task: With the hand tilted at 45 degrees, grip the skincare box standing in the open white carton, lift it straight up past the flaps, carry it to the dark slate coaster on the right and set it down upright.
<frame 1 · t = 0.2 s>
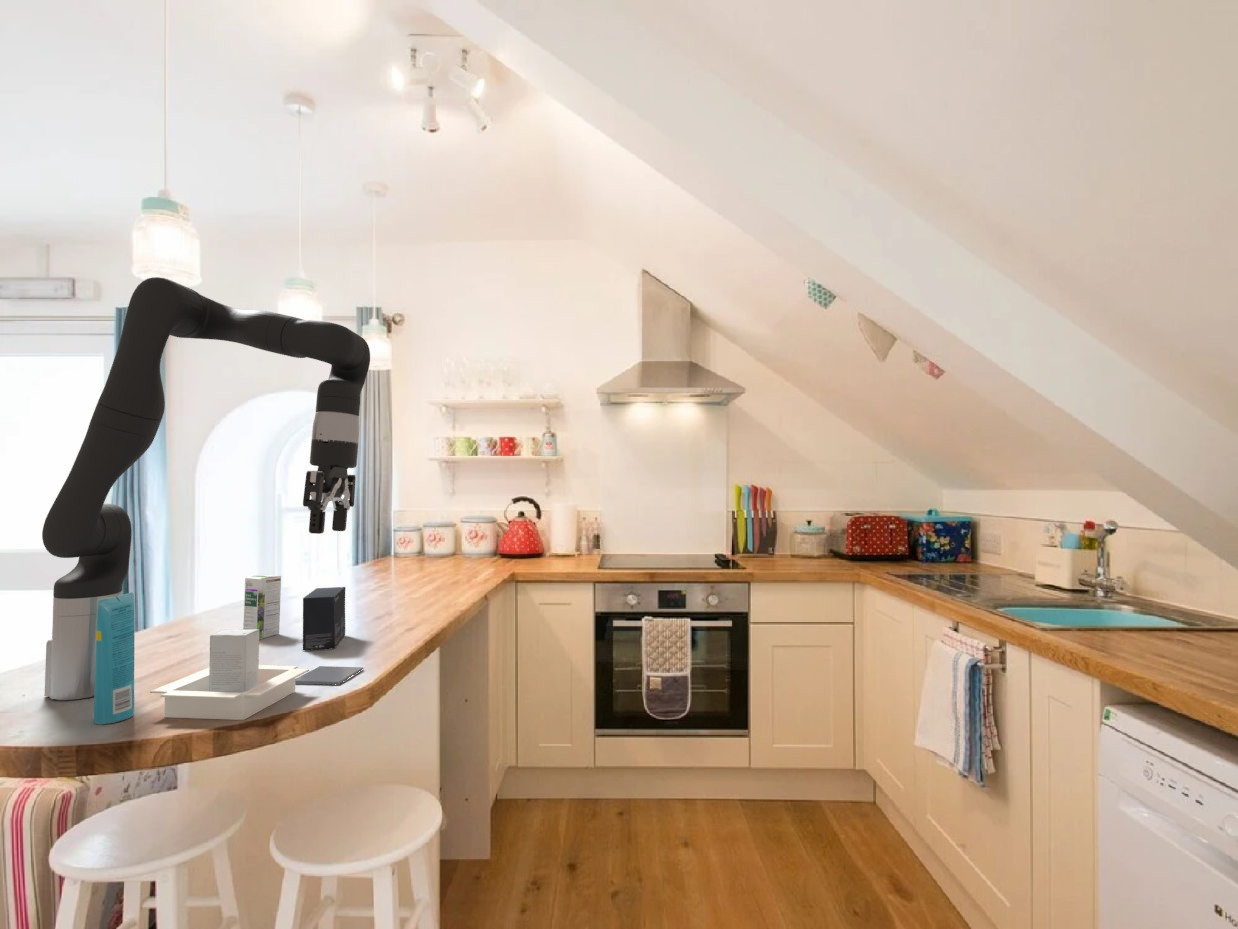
hand: (327, 532, 106), 29 cm above the countertop, tool pointing down, fingers open, 8 cm apart
tube: (112, 720, 95), on the countertop
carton: (233, 703, 102), on the countertop
small box: (324, 644, 141), on the countertop
coaster: (328, 676, 116), on the countertop
skincare box: (233, 705, 102), resting in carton
syrup box: (261, 636, 147), on the countertop
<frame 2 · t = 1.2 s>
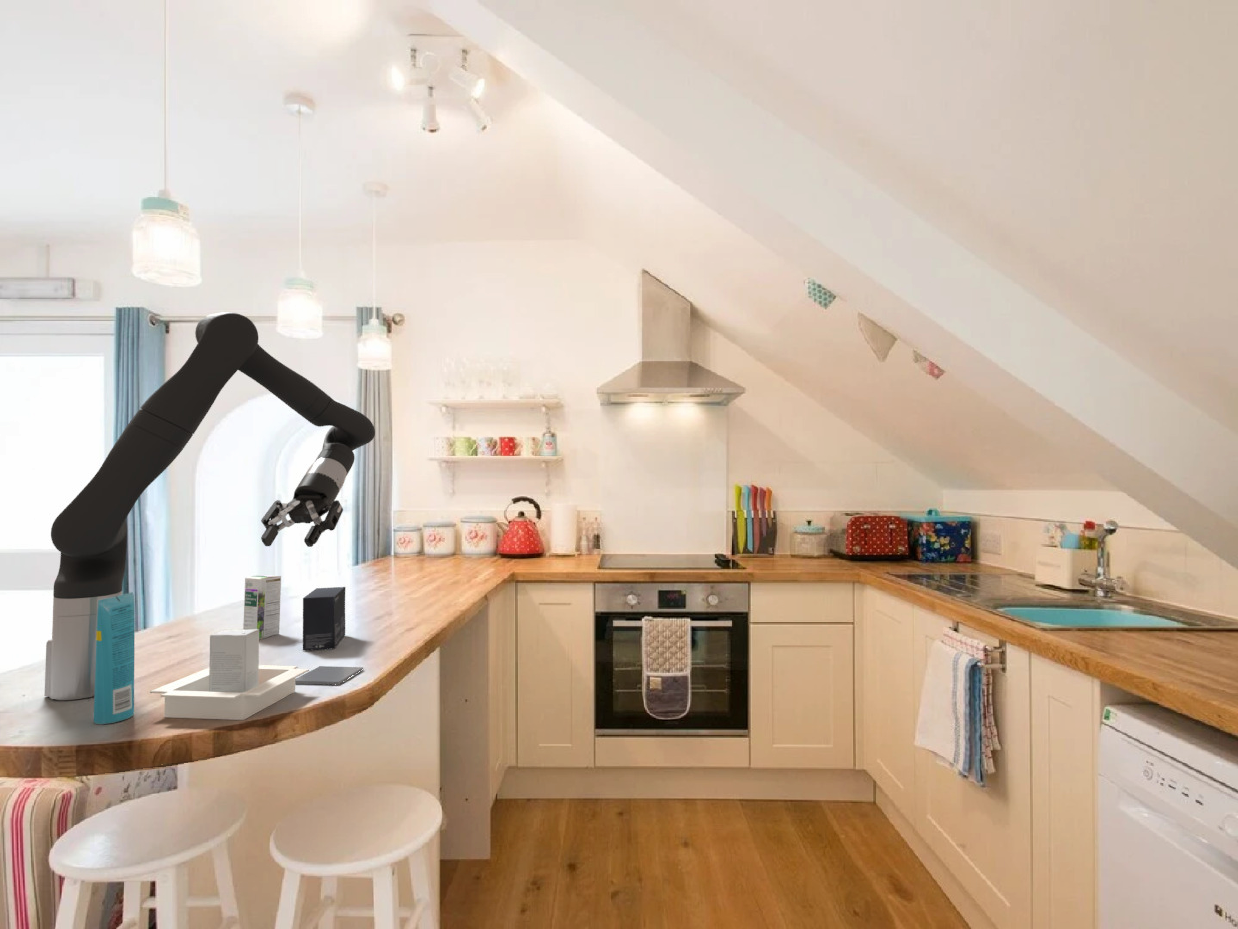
hand: (286, 543, 116), 25 cm above the countertop, tool tilted 45°, fingers open, 8 cm apart
nothing on the countertop moved.
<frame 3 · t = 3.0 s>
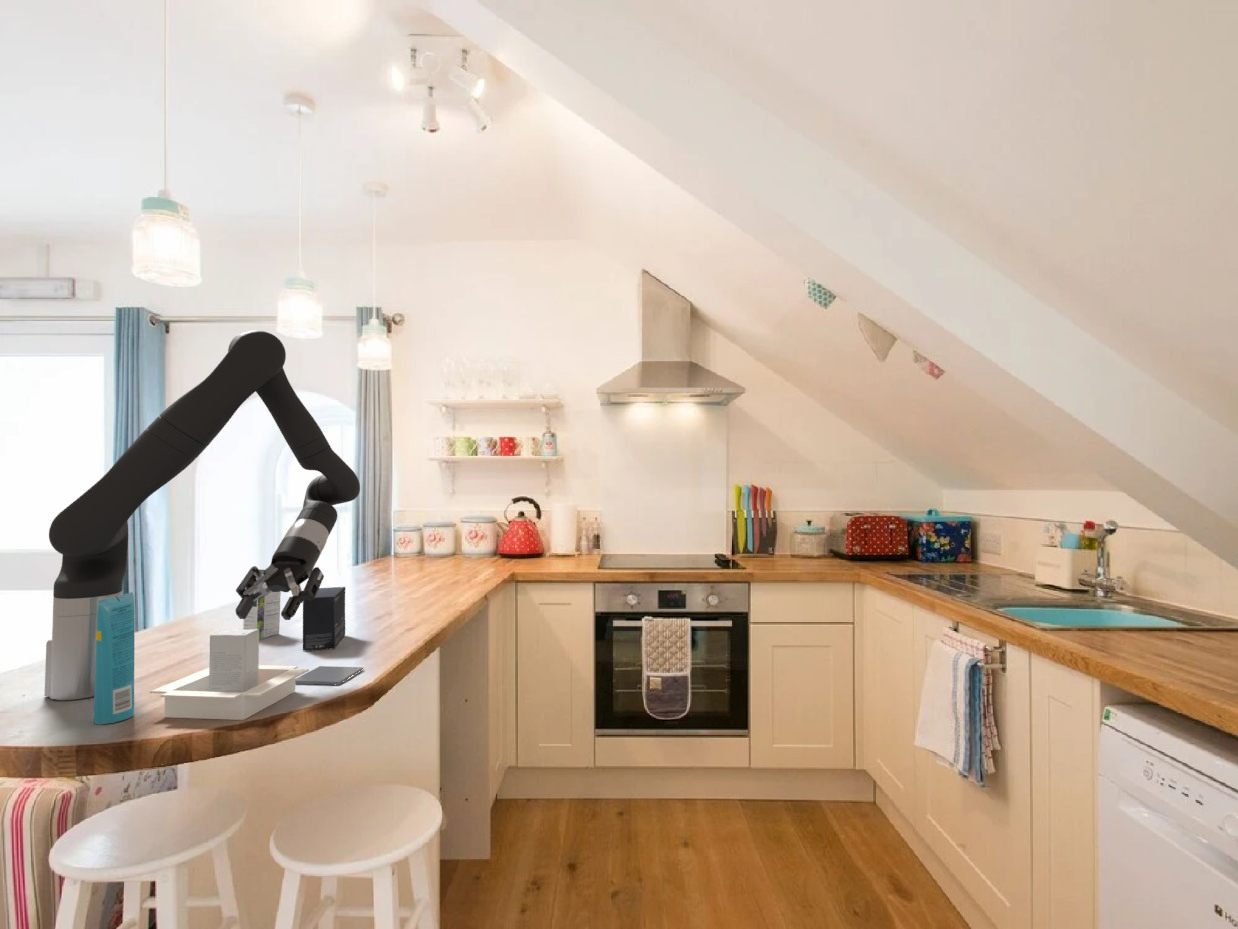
hand: (262, 617, 109), 13 cm above the countertop, tool tilted 45°, fingers open, 8 cm apart
nothing on the countertop moved.
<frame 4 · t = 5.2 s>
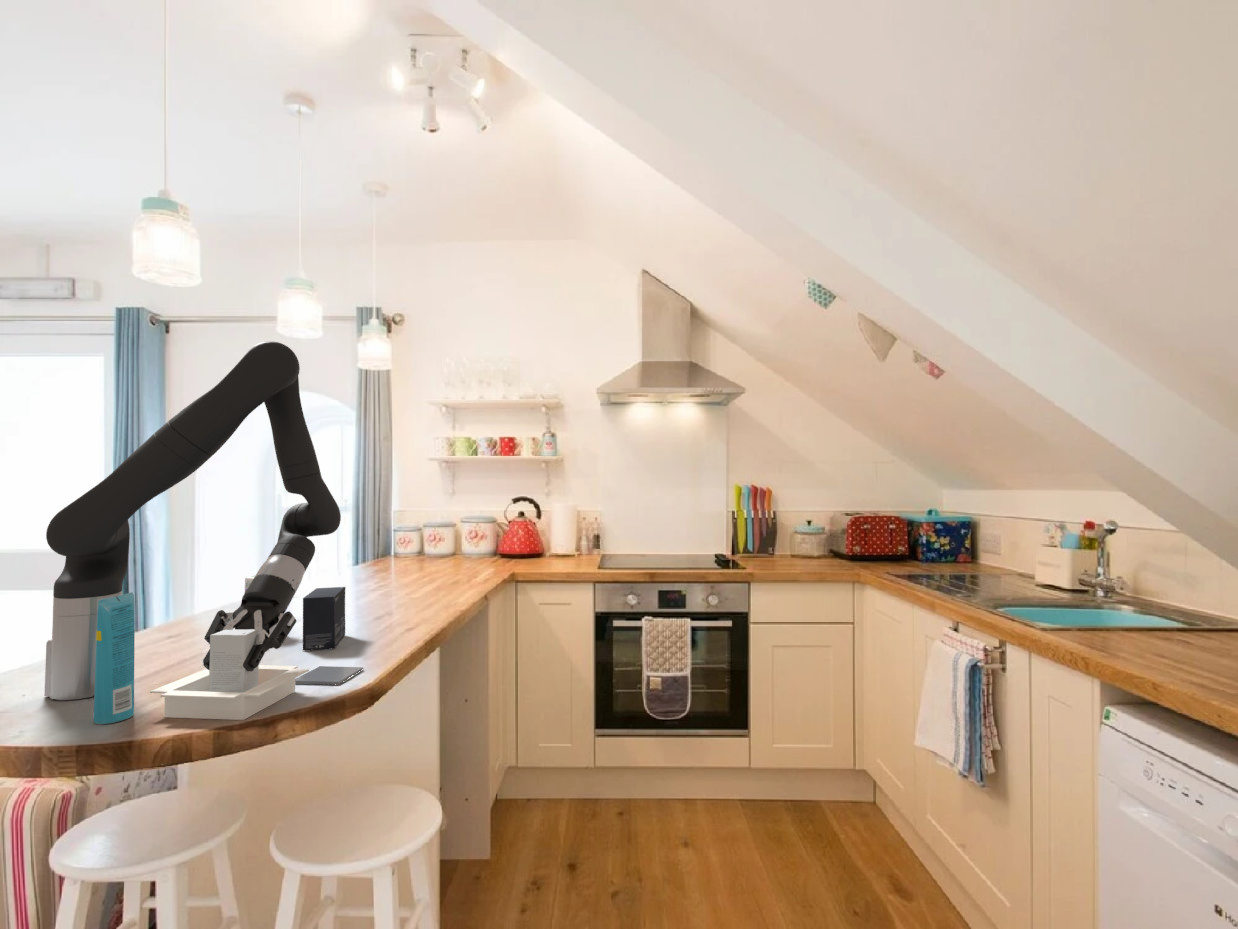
hand: (227, 668, 100), 6 cm above the countertop, tool tilted 45°, fingers closed on skincare box, 6 cm apart
skincare box: (233, 704, 102), resting in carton, touching gripper
everything else where it was.
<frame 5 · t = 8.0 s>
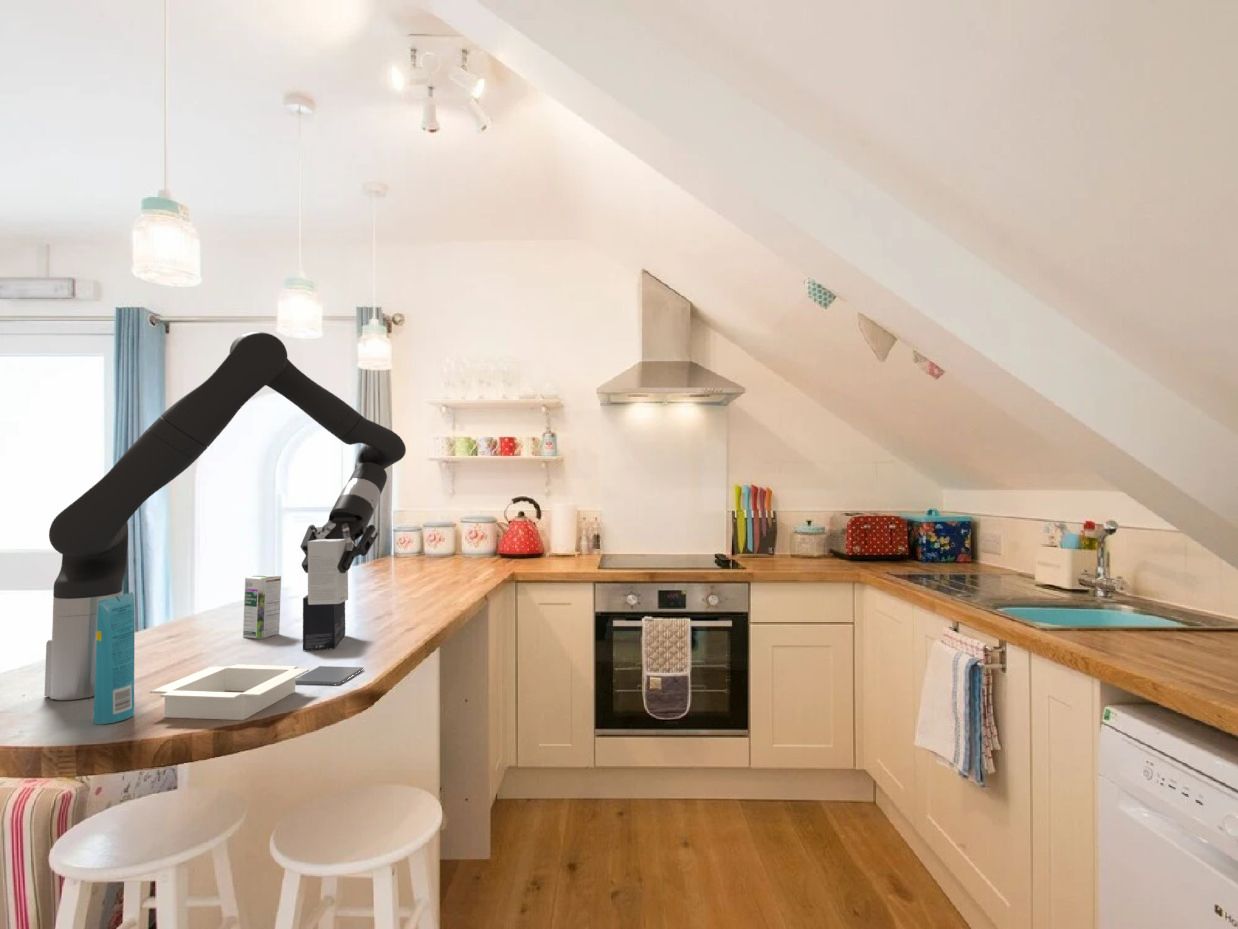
hand: (323, 570, 114), 21 cm above the countertop, tool tilted 45°, fingers closed on skincare box, 6 cm apart
skincare box: (328, 603, 116), point 14 cm above the countertop, touching gripper
everything else where it was.
when the fingers open (7 cm above the countertop, at t = 11.1 s): skincare box stays where it is, resting on coaster.
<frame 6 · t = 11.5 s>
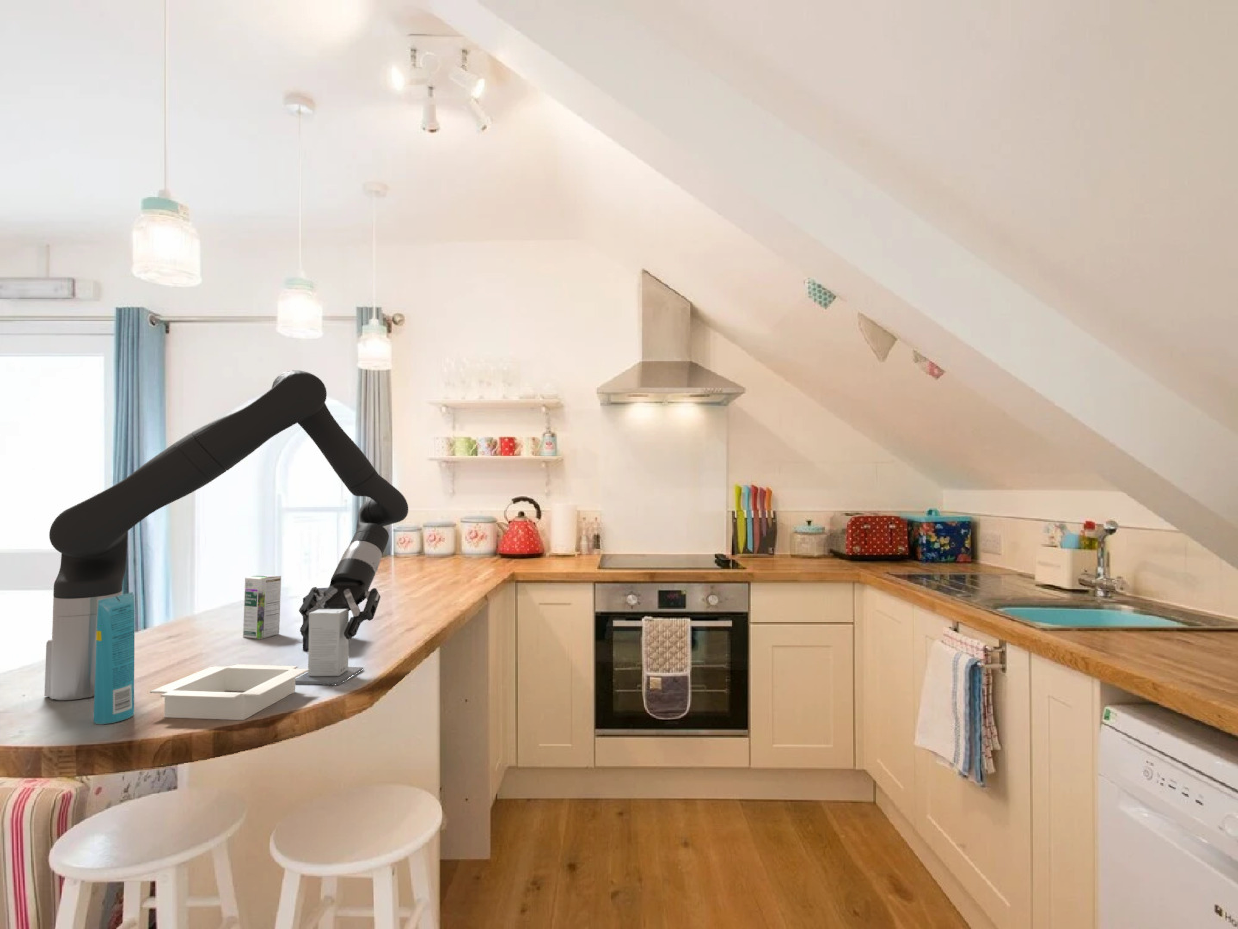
hand: (325, 636, 115), 8 cm above the countertop, tool tilted 45°, fingers open, 8 cm apart
skincare box: (328, 674, 116), resting on coaster
everything else where it was.
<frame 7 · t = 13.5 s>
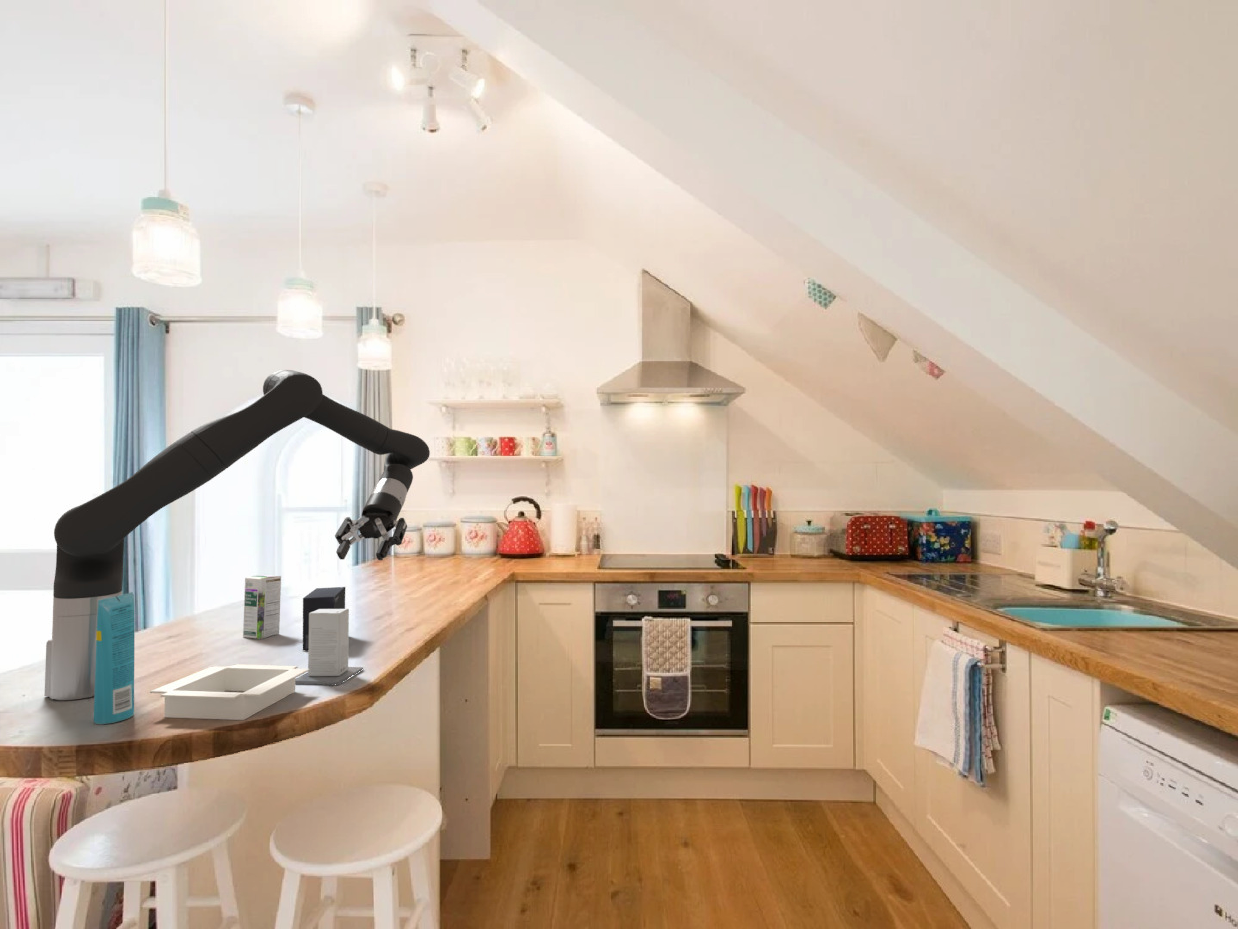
hand: (359, 557, 128), 21 cm above the countertop, tool tilted 45°, fingers open, 8 cm apart
nothing on the countertop moved.
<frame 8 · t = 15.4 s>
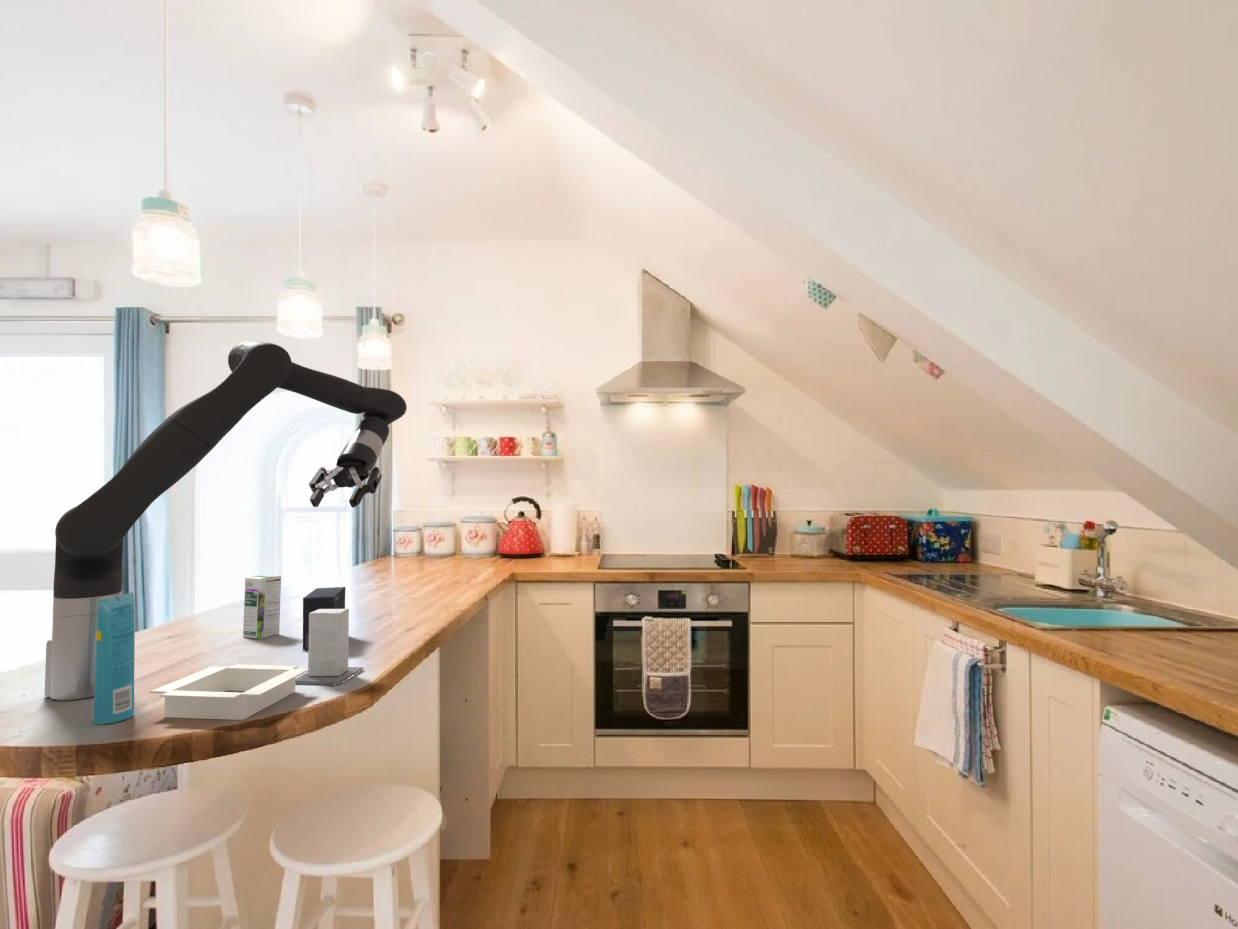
hand: (332, 504, 128), 33 cm above the countertop, tool tilted 45°, fingers open, 8 cm apart
nothing on the countertop moved.
at the end: skincare box 0.3 cm from the coaster (horizontally); skincare box tilted 0°; the gripper is holding nothing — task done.
